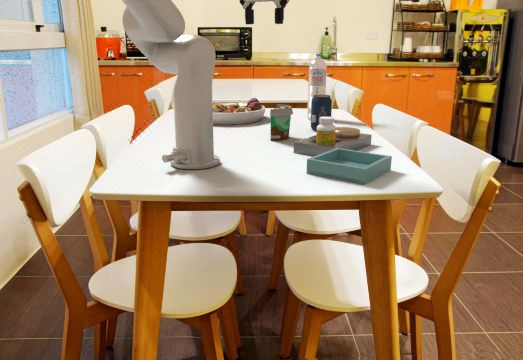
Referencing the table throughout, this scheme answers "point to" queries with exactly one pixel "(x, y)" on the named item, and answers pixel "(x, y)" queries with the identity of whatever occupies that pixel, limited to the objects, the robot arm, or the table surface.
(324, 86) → the water bottle
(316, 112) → the soda can
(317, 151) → the bracket
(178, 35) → the robot arm
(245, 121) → the bowl
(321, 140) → the supplement bottle
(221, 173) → the table surface
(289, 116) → the food container
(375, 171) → the tray
